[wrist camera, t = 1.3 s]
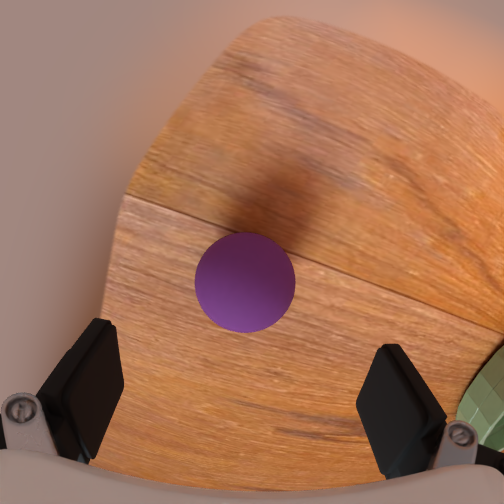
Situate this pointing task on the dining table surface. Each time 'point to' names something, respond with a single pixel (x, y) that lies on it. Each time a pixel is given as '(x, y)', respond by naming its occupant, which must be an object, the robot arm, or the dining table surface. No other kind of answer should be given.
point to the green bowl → (486, 403)
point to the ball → (245, 282)
